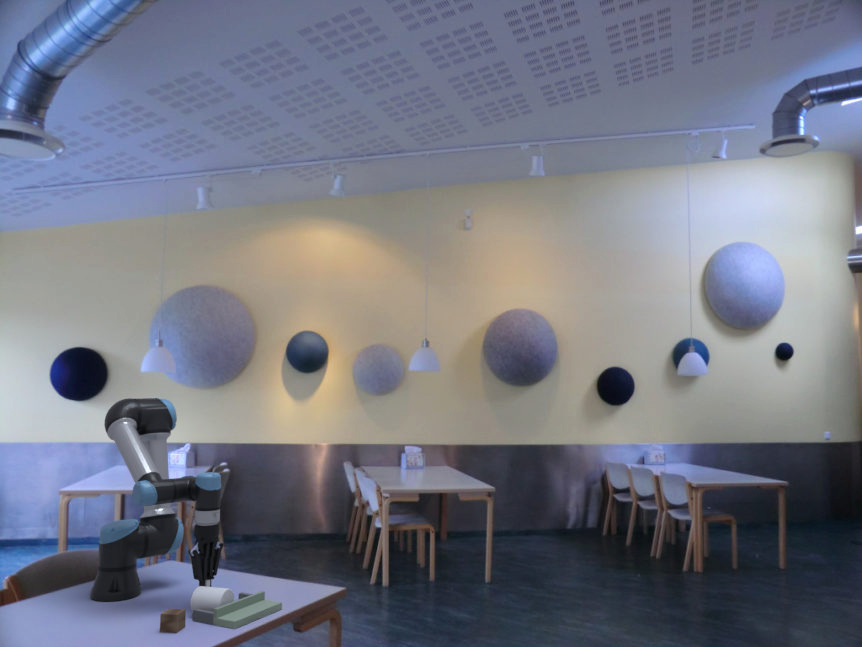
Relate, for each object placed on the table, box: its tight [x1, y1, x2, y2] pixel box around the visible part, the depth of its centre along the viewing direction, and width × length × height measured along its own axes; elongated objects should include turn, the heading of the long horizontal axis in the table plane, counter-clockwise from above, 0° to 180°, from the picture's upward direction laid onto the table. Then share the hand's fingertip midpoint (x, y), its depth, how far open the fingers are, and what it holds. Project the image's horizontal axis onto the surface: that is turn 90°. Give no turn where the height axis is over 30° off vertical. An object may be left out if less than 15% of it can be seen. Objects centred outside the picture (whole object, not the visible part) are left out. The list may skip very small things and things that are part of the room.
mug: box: [189, 585, 235, 613], centre depth 218 cm, size 12×10×8 cm
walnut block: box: [159, 608, 187, 634], centre depth 203 cm, size 5×5×5 cm
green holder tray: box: [192, 590, 283, 630], centre depth 217 cm, size 16×21×4 cm
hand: (204, 601), depth 223 cm, fingers closed
